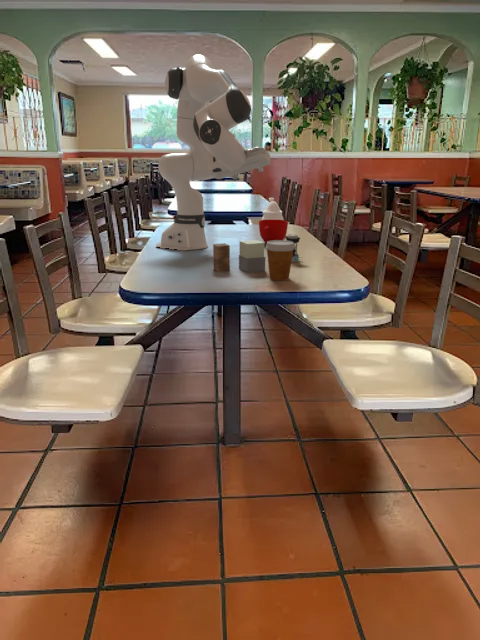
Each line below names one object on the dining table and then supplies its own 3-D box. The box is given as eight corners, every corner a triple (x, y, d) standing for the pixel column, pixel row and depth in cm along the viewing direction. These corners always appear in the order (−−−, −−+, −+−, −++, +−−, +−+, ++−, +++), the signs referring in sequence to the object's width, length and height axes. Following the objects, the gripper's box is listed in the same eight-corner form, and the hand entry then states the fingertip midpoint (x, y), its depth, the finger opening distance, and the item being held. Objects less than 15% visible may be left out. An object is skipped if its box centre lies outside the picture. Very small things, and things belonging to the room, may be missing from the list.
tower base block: (247, 272, 172) (247, 258, 171) (238, 268, 178) (238, 254, 177) (265, 271, 175) (265, 257, 173) (256, 267, 181) (256, 253, 180)
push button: (301, 259, 193) (302, 234, 189) (303, 262, 188) (304, 236, 184) (284, 259, 193) (285, 234, 189) (285, 262, 188) (286, 236, 184)
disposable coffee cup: (263, 275, 169) (263, 240, 165) (290, 274, 169) (292, 239, 166) (266, 282, 160) (267, 245, 156) (296, 281, 160) (297, 244, 157)
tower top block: (247, 258, 171) (247, 244, 169) (239, 255, 177) (239, 241, 175) (263, 257, 174) (264, 242, 172) (255, 253, 179) (256, 239, 178)
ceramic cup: (251, 246, 219) (251, 223, 216) (264, 240, 234) (264, 218, 231) (279, 248, 214) (280, 225, 211) (290, 242, 229) (291, 220, 226)
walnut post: (218, 272, 173) (217, 246, 170) (213, 269, 177) (213, 244, 174) (229, 270, 175) (229, 245, 172) (224, 268, 178) (224, 243, 175)
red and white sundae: (255, 234, 251) (255, 197, 245) (277, 232, 256) (278, 196, 250) (266, 238, 240) (267, 200, 234) (289, 236, 245) (291, 199, 239)
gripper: (261, 137, 156) (276, 156, 168) (203, 155, 164) (221, 172, 176) (263, 155, 155) (277, 174, 167) (204, 172, 162) (223, 189, 175)
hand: (248, 173), depth 172 cm, fingers open, 8 cm apart
